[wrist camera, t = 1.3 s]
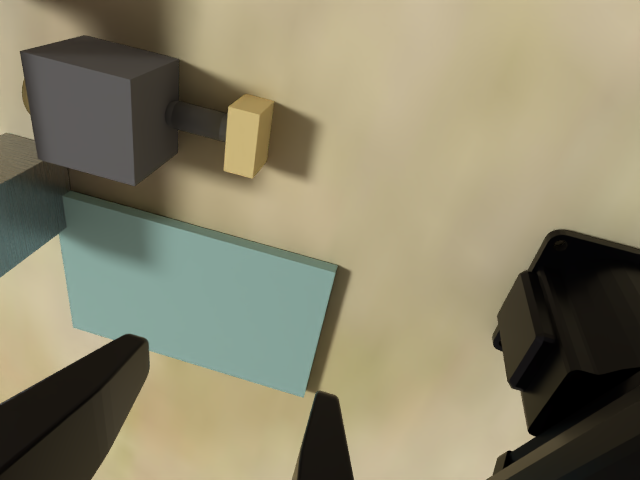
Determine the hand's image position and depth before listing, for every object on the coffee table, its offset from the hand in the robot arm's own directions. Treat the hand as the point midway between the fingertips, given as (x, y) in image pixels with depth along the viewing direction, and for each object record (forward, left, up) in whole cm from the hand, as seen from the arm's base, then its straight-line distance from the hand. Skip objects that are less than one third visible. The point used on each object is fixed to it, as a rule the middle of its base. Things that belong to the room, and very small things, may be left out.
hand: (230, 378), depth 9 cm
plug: (+7, 0, -12) cm, 14 cm away
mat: (+6, +10, -12) cm, 17 cm away
